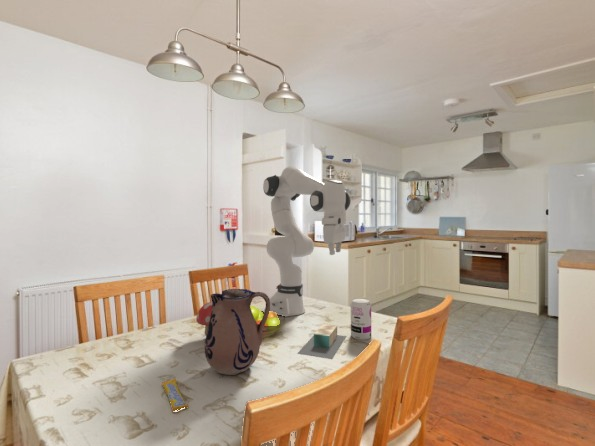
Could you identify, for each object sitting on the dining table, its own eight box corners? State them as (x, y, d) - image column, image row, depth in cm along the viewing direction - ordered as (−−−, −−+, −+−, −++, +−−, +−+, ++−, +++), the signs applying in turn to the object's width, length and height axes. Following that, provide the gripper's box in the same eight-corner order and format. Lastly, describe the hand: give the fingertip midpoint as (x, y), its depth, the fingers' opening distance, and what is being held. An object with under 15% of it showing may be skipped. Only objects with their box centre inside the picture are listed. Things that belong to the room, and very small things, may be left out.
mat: (297, 354, 115) (297, 353, 115) (316, 332, 136) (316, 332, 136) (332, 359, 110) (332, 359, 110) (346, 337, 131) (346, 336, 131)
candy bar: (189, 411, 83) (189, 404, 83) (172, 417, 81) (172, 409, 81) (176, 383, 97) (176, 376, 97) (161, 386, 95) (161, 380, 95)
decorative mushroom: (204, 348, 121) (204, 308, 121) (191, 337, 132) (190, 301, 131) (236, 339, 130) (235, 302, 129) (221, 330, 140) (220, 296, 140)
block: (313, 334, 121) (323, 323, 132) (313, 345, 121) (323, 334, 133) (328, 336, 119) (337, 325, 130) (329, 348, 119) (337, 336, 130)
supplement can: (369, 333, 134) (369, 298, 134) (372, 341, 126) (372, 303, 126) (350, 333, 135) (350, 297, 135) (351, 340, 127) (351, 303, 126)
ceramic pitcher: (203, 361, 110) (201, 289, 109) (262, 351, 117) (261, 284, 117) (207, 387, 94) (206, 302, 93) (276, 373, 101) (275, 295, 100)
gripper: (334, 219, 142) (334, 250, 142) (320, 220, 123) (320, 256, 123) (348, 219, 140) (348, 250, 140) (336, 220, 121) (336, 256, 121)
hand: (335, 253), depth 131 cm, fingers open, 8 cm apart
